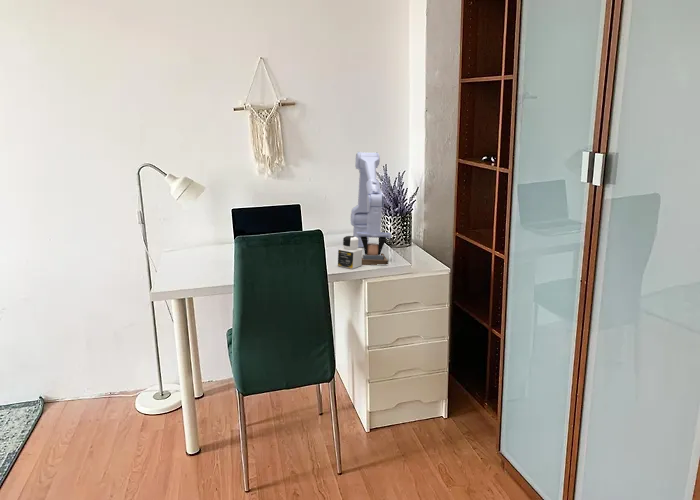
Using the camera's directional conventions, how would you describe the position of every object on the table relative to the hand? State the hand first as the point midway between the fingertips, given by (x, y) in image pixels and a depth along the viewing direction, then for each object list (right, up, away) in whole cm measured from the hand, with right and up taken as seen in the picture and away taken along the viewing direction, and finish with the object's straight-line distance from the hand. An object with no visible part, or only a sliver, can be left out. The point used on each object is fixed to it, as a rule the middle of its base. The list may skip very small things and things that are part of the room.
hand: (372, 254), depth 247 cm
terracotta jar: (0, -2, +1) cm, 2 cm away
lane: (0, -3, -1) cm, 3 cm away
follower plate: (0, -3, -2) cm, 4 cm away
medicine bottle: (-10, -5, -10) cm, 15 cm away
